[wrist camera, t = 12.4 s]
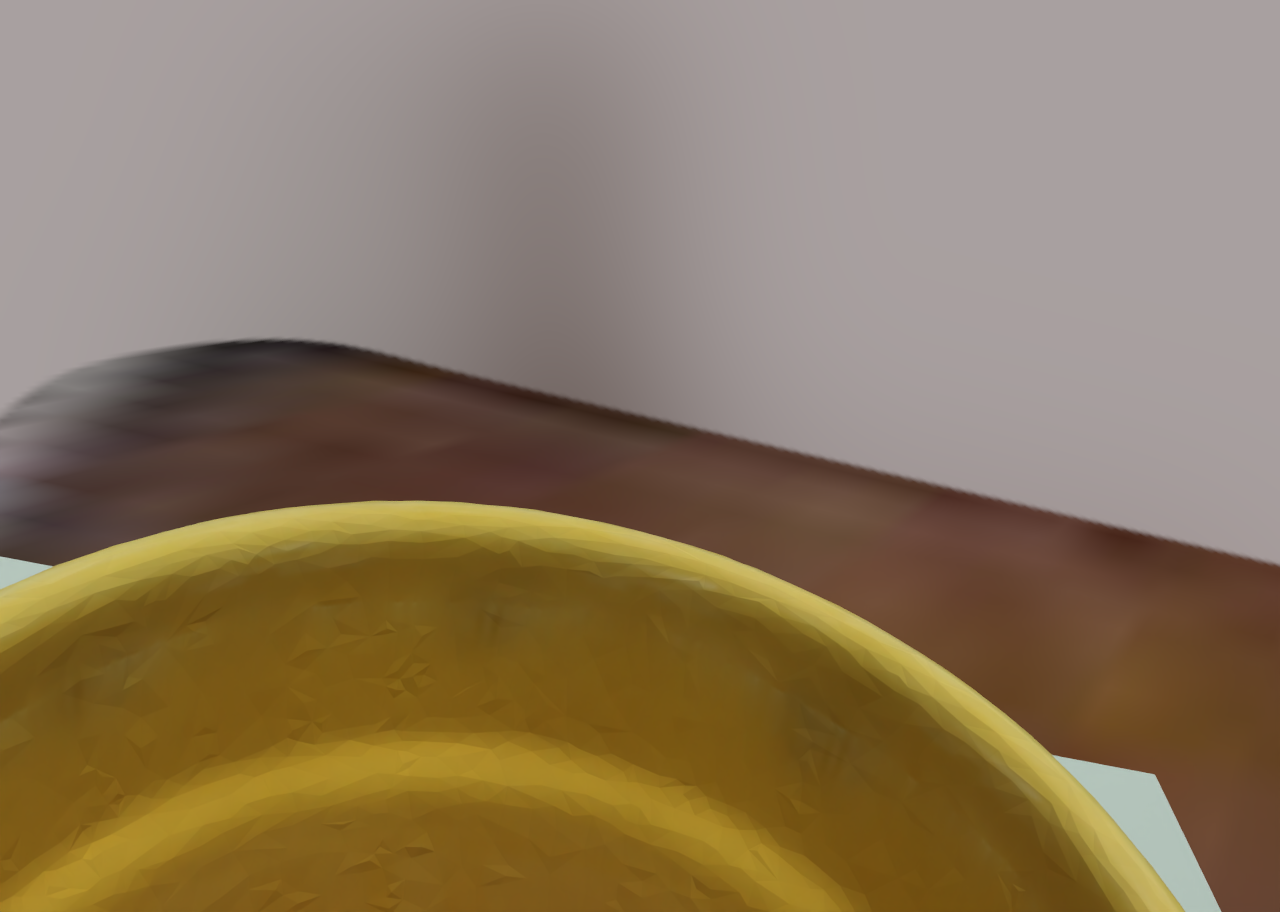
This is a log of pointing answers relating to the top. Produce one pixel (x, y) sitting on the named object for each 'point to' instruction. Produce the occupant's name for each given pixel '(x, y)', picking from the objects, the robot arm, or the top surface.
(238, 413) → the top surface
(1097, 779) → the guide track
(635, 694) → the plant pot
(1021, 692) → the top surface
